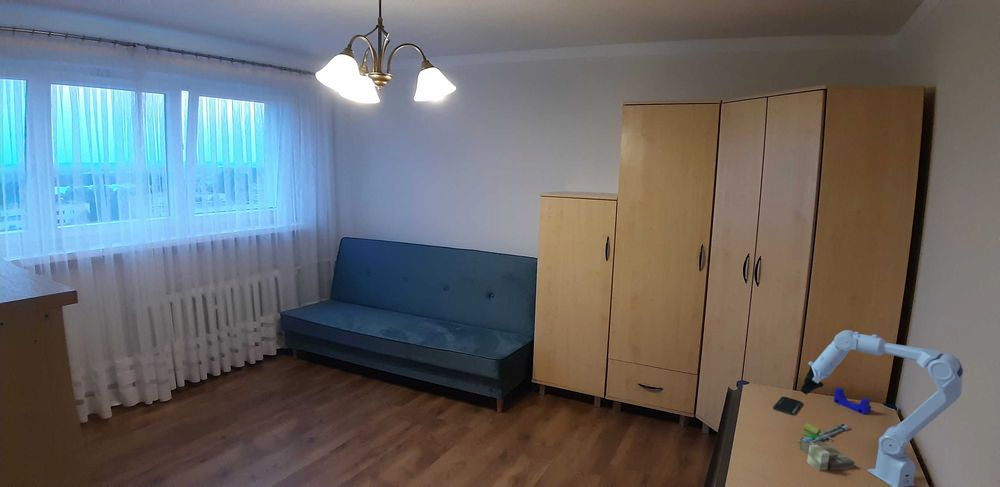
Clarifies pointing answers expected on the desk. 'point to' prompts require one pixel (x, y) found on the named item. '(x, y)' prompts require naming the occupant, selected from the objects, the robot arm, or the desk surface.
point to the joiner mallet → (819, 457)
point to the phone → (787, 405)
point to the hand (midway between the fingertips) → (805, 387)
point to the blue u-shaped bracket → (843, 401)
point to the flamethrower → (818, 432)
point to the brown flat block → (833, 463)
